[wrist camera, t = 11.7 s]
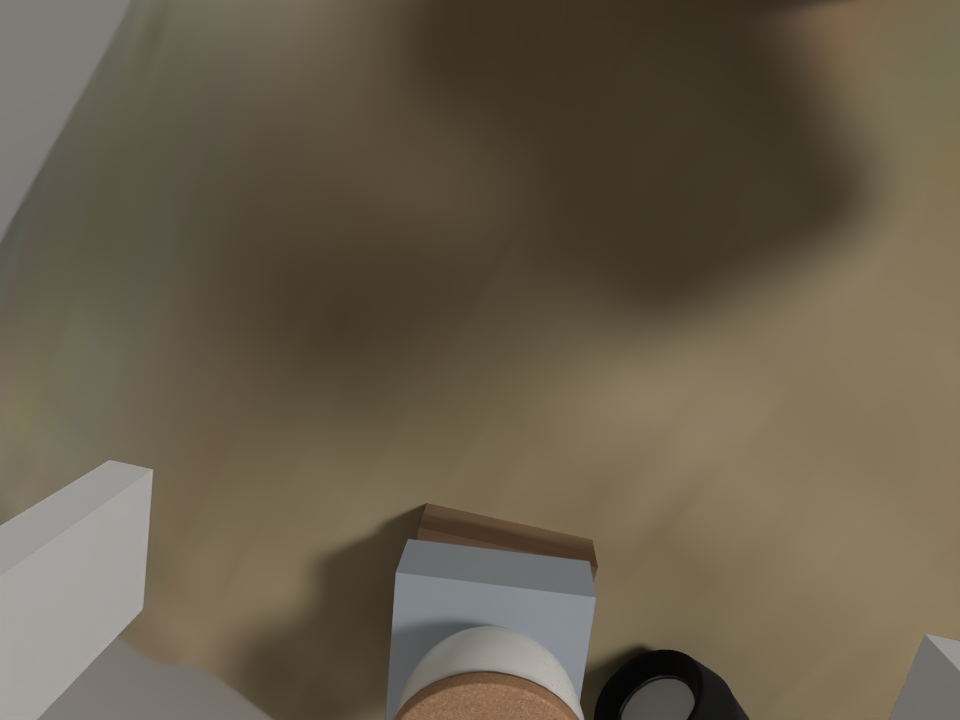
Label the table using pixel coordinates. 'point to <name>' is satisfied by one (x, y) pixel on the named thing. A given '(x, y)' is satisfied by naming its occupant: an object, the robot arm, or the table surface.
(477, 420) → the table surface
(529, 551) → the tower base
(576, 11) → the table surface
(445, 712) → the lidded jar
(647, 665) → the portable speaker
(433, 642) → the tower top
